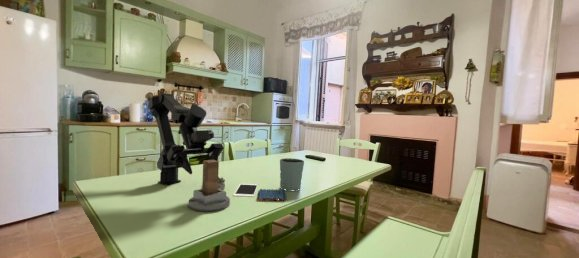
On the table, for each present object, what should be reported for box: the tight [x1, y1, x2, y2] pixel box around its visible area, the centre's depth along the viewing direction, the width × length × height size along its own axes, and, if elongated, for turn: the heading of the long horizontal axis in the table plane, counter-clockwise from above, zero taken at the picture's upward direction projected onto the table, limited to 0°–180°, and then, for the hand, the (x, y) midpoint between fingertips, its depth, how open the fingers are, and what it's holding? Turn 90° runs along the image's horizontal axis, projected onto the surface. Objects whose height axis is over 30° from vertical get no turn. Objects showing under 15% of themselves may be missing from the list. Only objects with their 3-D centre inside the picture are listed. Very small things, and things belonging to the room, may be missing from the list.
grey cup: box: [279, 157, 305, 191], centre depth 108 cm, size 10×10×12 cm
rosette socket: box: [187, 188, 231, 213], centre depth 84 cm, size 13×13×4 cm
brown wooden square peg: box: [201, 159, 220, 195], centre depth 84 cm, size 4×4×13 cm
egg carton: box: [218, 176, 226, 191], centre depth 105 cm, size 11×8×4 cm
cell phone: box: [232, 183, 259, 198], centre depth 103 cm, size 8×16×1 cm, turn 1°
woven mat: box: [256, 188, 287, 202], centre depth 96 cm, size 10×11×2 cm
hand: (204, 171), depth 87 cm, fingers open, 9 cm apart
